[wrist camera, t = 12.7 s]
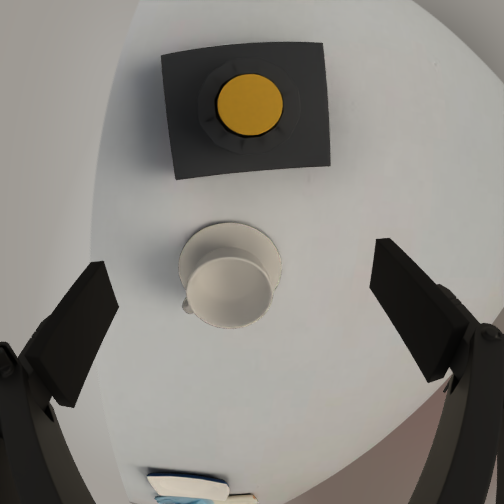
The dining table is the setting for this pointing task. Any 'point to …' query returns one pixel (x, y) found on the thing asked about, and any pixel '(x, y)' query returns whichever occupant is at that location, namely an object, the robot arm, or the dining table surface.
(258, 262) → the teacup
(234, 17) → the dining table surface
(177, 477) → the plate
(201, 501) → the rubber gloves
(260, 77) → the yellow button cap
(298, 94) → the yellow button cap base
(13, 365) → the robot arm
